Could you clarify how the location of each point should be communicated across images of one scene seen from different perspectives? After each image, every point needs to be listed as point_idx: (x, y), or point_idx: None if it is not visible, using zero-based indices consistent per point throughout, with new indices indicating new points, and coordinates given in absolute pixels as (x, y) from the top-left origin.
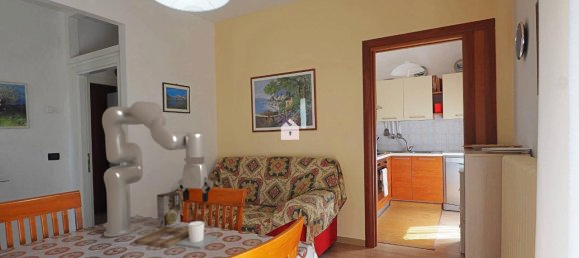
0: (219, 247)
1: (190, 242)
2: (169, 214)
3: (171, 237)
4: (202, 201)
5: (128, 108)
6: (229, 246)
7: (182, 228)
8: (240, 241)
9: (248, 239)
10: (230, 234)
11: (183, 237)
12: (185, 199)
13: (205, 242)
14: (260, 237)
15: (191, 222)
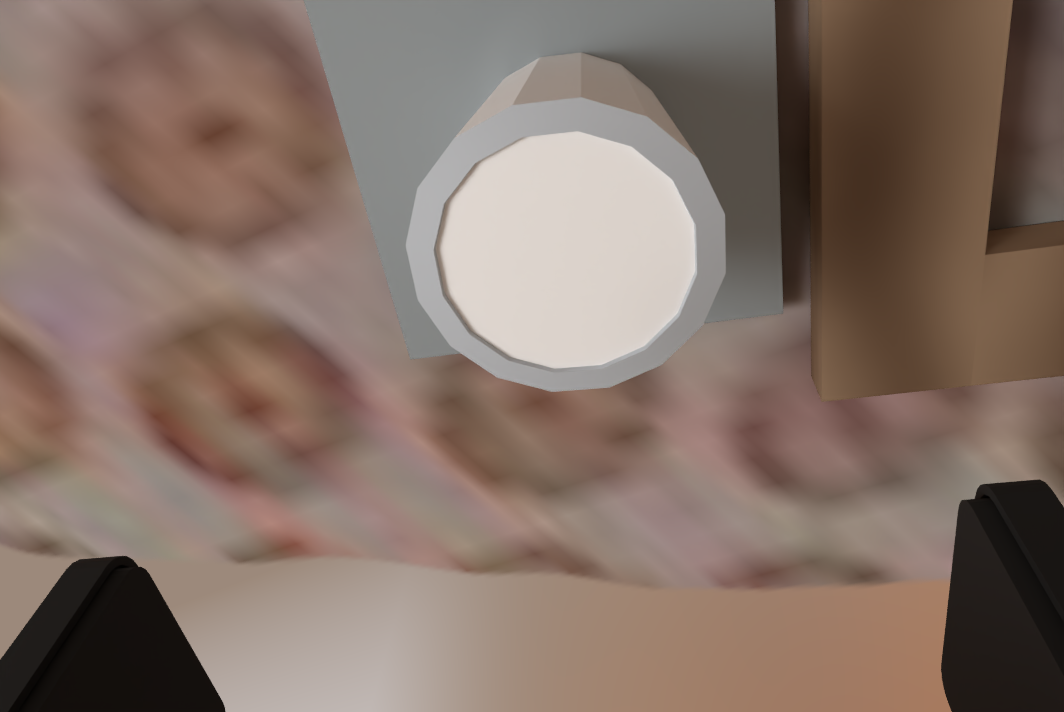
0: (120, 122)
1: (572, 30)
2: None
3: (1010, 2)
4: (115, 582)
5: None
6: (48, 201)
7: None
8: (82, 367)
9: (62, 440)
10: (362, 480)
11: (819, 119)
12: (974, 560)
13: (362, 128)
14: (11, 519)
15: (699, 265)
